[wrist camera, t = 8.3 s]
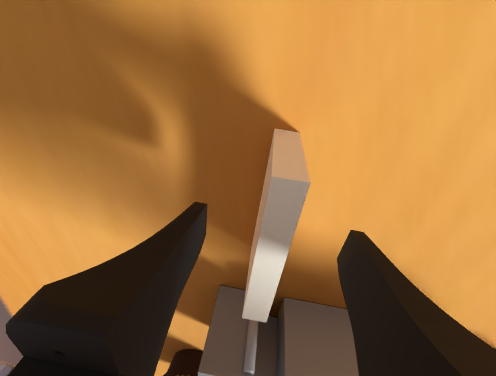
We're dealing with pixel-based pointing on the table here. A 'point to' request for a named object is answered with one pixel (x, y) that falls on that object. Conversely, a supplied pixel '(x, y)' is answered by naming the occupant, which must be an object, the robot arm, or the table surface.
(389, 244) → the table surface
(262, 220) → the white flat block
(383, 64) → the table surface
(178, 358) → the coffee mug
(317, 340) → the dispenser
